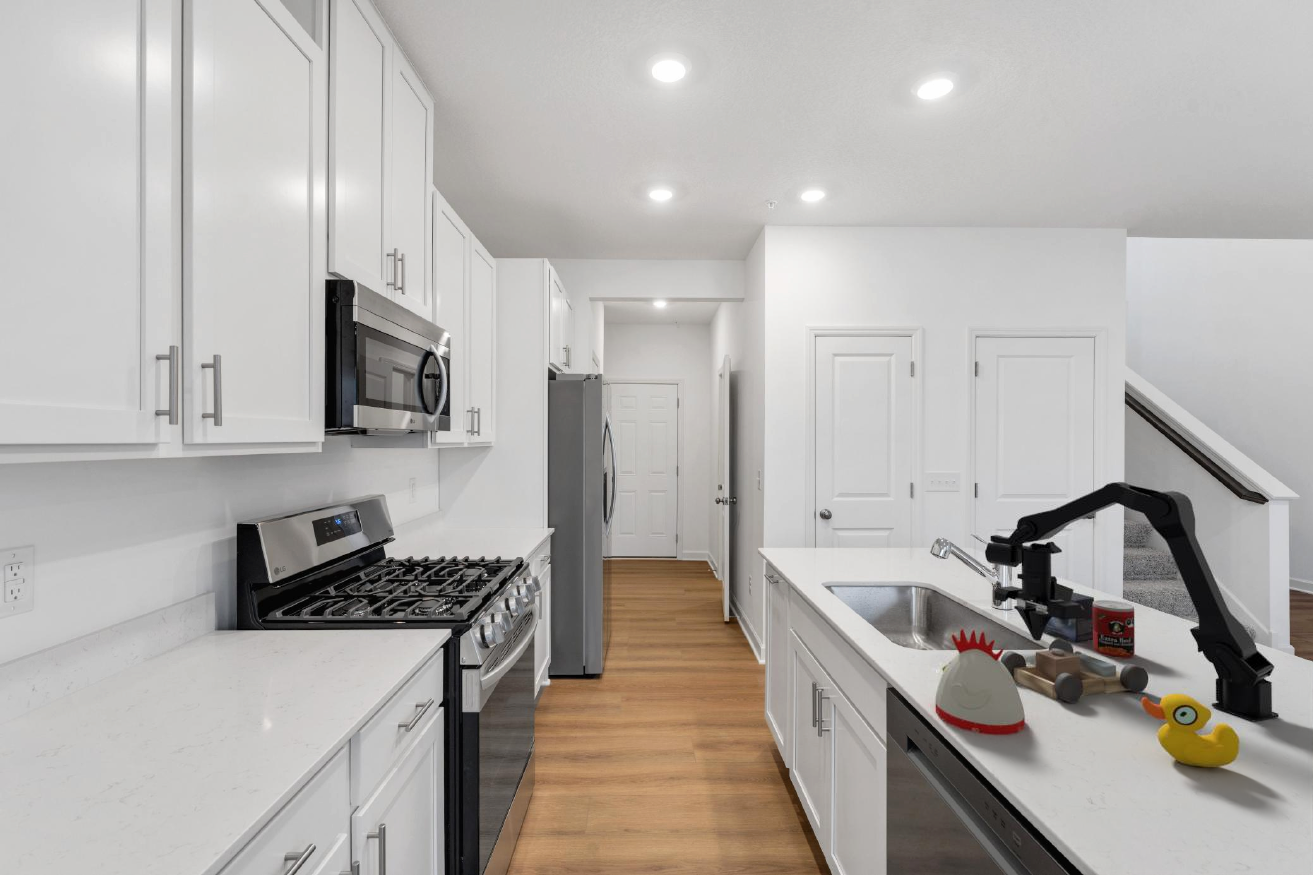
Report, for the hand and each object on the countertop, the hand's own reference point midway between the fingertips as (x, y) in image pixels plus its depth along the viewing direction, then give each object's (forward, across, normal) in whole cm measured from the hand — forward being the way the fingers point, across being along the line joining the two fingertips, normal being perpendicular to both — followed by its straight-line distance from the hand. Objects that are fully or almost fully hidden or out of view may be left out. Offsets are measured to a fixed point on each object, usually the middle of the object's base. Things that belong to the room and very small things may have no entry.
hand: (1037, 640), depth 140 cm
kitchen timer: (+4, -22, +36) cm, 43 cm away
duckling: (+4, -44, +18) cm, 48 cm away
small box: (+4, +9, -18) cm, 21 cm away
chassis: (+3, -15, +8) cm, 18 cm away
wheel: (+3, -6, 0) cm, 7 cm away
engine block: (+3, -16, +12) cm, 20 cm away
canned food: (+4, -4, -18) cm, 18 cm away
